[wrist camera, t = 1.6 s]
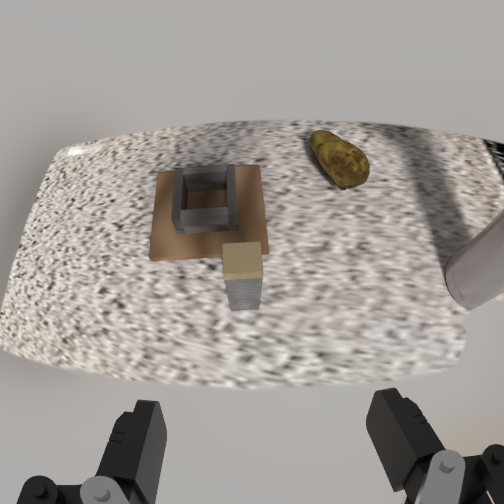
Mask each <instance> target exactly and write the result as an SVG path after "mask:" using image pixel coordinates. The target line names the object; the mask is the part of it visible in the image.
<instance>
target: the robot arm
mask: <svg viewBox="0 0 504 504" xmlns="http://www.w3.org/2000/svg"><path fill="white" fill-rule="evenodd" d="M445 277H446V283H447V286H448V289H449V291H450V293H451V295H452V297H453V298H454V299H455V300H456V301H457V302H458V304H460V305H461V306H463V307H465V308H470V309H473V308H476V307H478V306H480V305H482V304H484V303H486V302H487V301H489V300H491V299H493V298H495V297H496V296H498V295H500V294H501V293H503V292H504V209H503V210H502V211H501V212H500V213H499V214H498V215H497V216H496V217H495V218H494V219H493V220H492V221H491V222H490V223H489V224H488V225H487V226H486V227H485V228H484V229H483V230H482V231H481V232H480V233H479V234H478V235H477V236H476V237H474V238H473V239H472V240H471V241H470V242H469V243H468V244H467V245H466V246H464V247H463V248H462V249H461V250H460V251H459V252H458V253H456V254H455V255H454V256H453V257H452V258H451V259H450V260H449V261H448V264H447V266H446V271H445ZM366 427H367V431H368V433H369V435H370V437H371V440H372V442H373V444H374V447H375V449H376V451H377V454H378V456H379V458H380V460H381V462H382V465H383V467H384V470H385V472H386V474H387V477H388V479H389V481H390V484H391V486H392V488H393V491H394V492H397V491H400V490H403V489H404V490H405V492H406V495H405V497H404V499H403V501H402V504H492V502H491V500H490V498H489V496H488V494H487V493H486V492H487V491H488V492H489V494H490V495H491V497H492V499H493V501H494V503H495V504H504V446H502V445H499V444H494V445H490V446H489V447H487V448H486V449H485V451H484V452H483V454H482V455H476V456H469V457H462V456H461V455H460V454H459V453H457V452H455V451H452V450H446V449H445V448H444V446H443V445H442V443H441V441H440V440H439V438H438V437H437V435H436V434H435V432H434V430H433V429H432V427H431V426H430V424H429V423H427V420H426V418H425V417H424V416H423V414H422V412H421V410H420V409H419V407H418V406H417V405H416V404H415V403H414V402H413V401H411V400H410V399H409V398H407V397H406V398H402V397H401V395H400V393H399V392H398V390H397V389H396V388H389V389H384V390H378V391H376V392H375V393H374V397H373V399H372V402H371V405H370V409H369V412H368V415H367V418H366ZM166 441H167V430H166V425H165V422H164V418H163V414H162V410H161V407H160V404H159V402H158V401H148V400H138V401H137V403H136V405H135V408H134V411H133V412H124V413H123V414H122V415H121V416H120V417H119V418H118V419H117V420H116V422H115V425H114V427H113V430H112V433H111V435H110V438H109V442H108V444H107V446H106V449H105V452H104V454H103V457H102V460H101V463H100V465H99V468H98V471H97V473H96V475H95V476H94V477H91V478H89V479H87V480H86V481H85V482H84V483H83V484H81V485H56V484H55V483H54V482H53V481H52V480H51V479H49V478H48V477H45V476H33V477H31V478H29V479H28V480H27V481H26V482H25V483H24V485H23V488H22V491H21V493H20V496H19V498H18V501H17V504H155V501H156V495H157V489H158V484H159V478H160V473H161V467H162V462H163V457H164V451H165V446H166Z"/></svg>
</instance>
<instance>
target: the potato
mask: <svg viewBox="0 0 504 504" xmlns="http://www.w3.org/2000/svg"><path fill="white" fill-rule="evenodd" d="M309 140H310V147H311V149H312V150H313V154H314V155H315V156H316V158H317V160H318V162H319V163H320V165H321V166H322V168H323V169H324V170H325V171H326V172H327V173H328V175H329V176H330V177H331V178H332V179H333V181H334V182H335V183H336V184H337V186H338V188H339V189H340V190H346V189H350V188H354V187H355V188H356V187H357V186H359V185H361V184H364V183H365V182H366V181H367V179H368V176H369V168H370V167H369V163H368V160H367V157H366V155H365V154H364V153H363V152H362V151H361V150H360V149H359V148H357V147H356V146H354V145H353V144H351V143H349V142H347V141H344V140H342V139H341V138H340V137H338V136H337V135H335V134H333V133H331V132H329V131H325V130H317V131H315V132H314V133H313V134H312V135H311V137H310V138H309Z"/></svg>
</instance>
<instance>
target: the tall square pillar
mask: <svg viewBox="0 0 504 504" xmlns="http://www.w3.org/2000/svg"><path fill="white" fill-rule="evenodd" d="M222 248H223V275H224V280H225V284H226V289H227V294H228V299H229V304H230V309H231V311H235V310H251V309H259V306H260V297H261V288H262V279H263V263H262V252H261V242H244V243H227V244H222Z"/></svg>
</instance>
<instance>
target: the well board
mask: <svg viewBox="0 0 504 504" xmlns="http://www.w3.org/2000/svg"><path fill="white" fill-rule="evenodd" d="M244 242H261V252H262V254H269V246H268V237H267V228H266V219H265V210H264V201H263V192H262V183H261V175H260V166H259V165H248V166H235V164H233V165H218V166H204V167H192V168H181V169H176V170H175V171H169V172H159V174H158V181H157V189H156V196H155V204H154V213H153V222H152V231H151V242H150V253H149V258H150V260H151V261H160V260H177V259H194V258H211V257H223V248H222V244H227V243H244Z"/></svg>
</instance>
